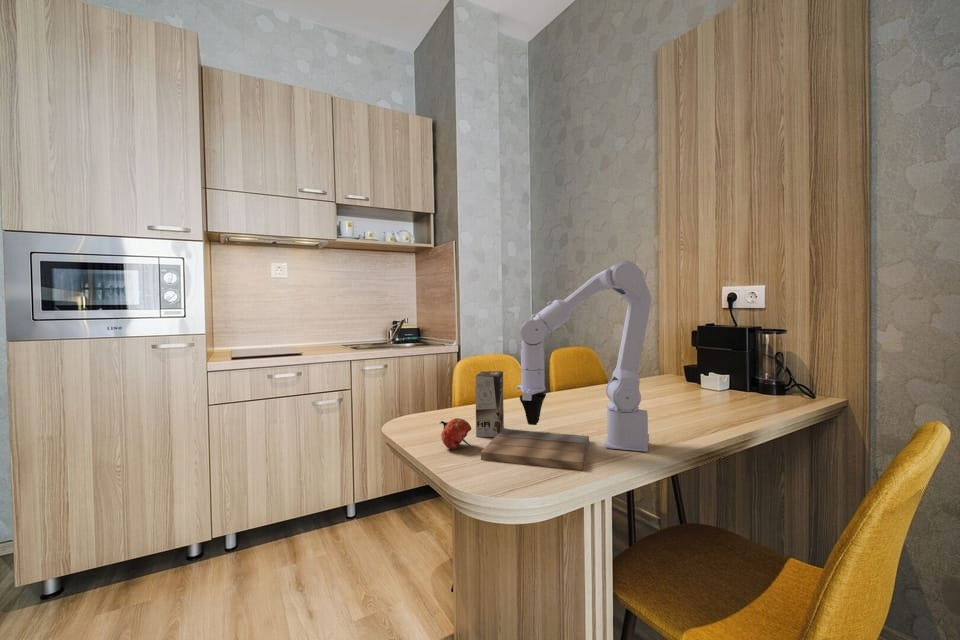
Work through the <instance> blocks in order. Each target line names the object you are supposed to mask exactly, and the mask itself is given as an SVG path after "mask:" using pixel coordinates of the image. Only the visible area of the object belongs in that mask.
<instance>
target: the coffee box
mask: <svg viewBox="0 0 960 640" xmlns="http://www.w3.org/2000/svg"><path fill="white" fill-rule="evenodd" d="M474 378H475V436H476V437H480V438H482V437H483V438H493V439H494V438H495V437H496V436H497V435H498V434H499V433H500V432H501V431H502V430H504V429H505V426H504V422H505V421H504V418H505V417H504V415H505V413H504V371H503V370H502V371H501V370H500V371H499V370H493V371H492V370H491V371H484V370H483V371H480V372H479V373H478V374H476V375H475V377H474Z"/></svg>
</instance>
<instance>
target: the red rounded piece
mask: <svg viewBox="0 0 960 640" xmlns="http://www.w3.org/2000/svg"><path fill="white" fill-rule="evenodd" d="M439 424H440V425H441V424H442V425H443V430H442V431H441V434H440V438H441V442H442V443H443V445H444V446H445V447H446V448H447V449H450V450H453V451H455V450H457V449H458V447H460V445H461V443H462V442H463V443H465V444H466V445H468V446H469V447H470V448H471V449H474V447H473V446H472V445H471V444H470V443H468V442H467V441H466V439H465V438H466V437H467V435H468V433H469V432H470V431H472V427H471V426H472V425H470V423H469V422H468V420H467V421H466V420H465V419H463V418H459V417H457V418H456V417H455V418H453V419H451V420H450V421H448V422H446V421H443V420H441V421H440V422H439Z"/></svg>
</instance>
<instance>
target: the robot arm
mask: <svg viewBox="0 0 960 640" xmlns="http://www.w3.org/2000/svg"><path fill="white" fill-rule="evenodd" d="M639 267H640V266H638V265H637V264H636V263H634V262H633V261H631V260H622V261H620V262H619V261H618V262H617V263H616V264H612V265H611V266H609V267H608V268H607V269H603V271H601V272H598V273H597V274H595V275H593V276H592V277H591V278H590V279H588V280H587V281H586V282H584V283H583V284H582V285H581V286H580V287H578V288H576V290H575V291H574V292H572V293H571V294H569V295H568V296H567V297H566V298H565V299H563V300H561V299H555V300H553V301H552V300H550V301H548V302H547V303H546V305H547V306H545V307H544V308H543V309H541V310H540V311H539V312H537V313H536V314H535V313H533V314H532V315H531V318H532V319H530V320H527V321H525V322H524V323H522V325H521V327H520V332H519V333H520V336H521V338H522V340H521V343H520V346H521V350H520V374H521V375H520V378H521V380H520V381H521V382H520V384H517V385H516V390H520V391H521V393H522V395H520V396H519V401H520V402H521V403H520V404H522V407H523V410H524V413H525V417H526V421H527V424H528V425H530V426H537V425H538V423H539V420H540V418H541V417H540V416H541V411H542V408H543V407H542V405H543V403H544V401H545V398H546V395H547V393H546V392H544V391H546V386H545V384H546V383H545V380H546V379H545V350H544V340H545V338H546V334H551V333H552V332H554V331H555V330H556V329H558V328H559V327H560V326H562V325H563V324H564V323H566V322H567V321H568V320H570V319H571V315H572V311H573V310H574V309H576V308H577V307H578V306H580V305H581V304H583V303H584V302H585V301H586V300H588V299H590V298H591V297H593V296H594V295H595V294H596V293H598V292H600V291H605V290H610V289H611V290H613V291H615V292H616V293H619V295H620V296H621V297H622V298H623V300H624V301H625V302H626V303H627V307H626V314H625V318H624V324H623V329H622V334H621V339H620V346H619V350H618V351H619V352H618V357H617V361H616V367H615V369H614V370H613V371H612V375H611V376H612V377H611V379H610V380H609V381H608V383H607V384H606V387H605V392H606V396H607V397H608V399H609V402H608V404H607V407H606V409H607V410H606V417H607V421H606V422H607V423H606V424H607V427H606V428H607V429H606V431H607V435H606V438H605V443H604V444H605V445H604V448H606V449H614V450H624V451H626V450H627V451H636V452H645V453H647V452H648V451H649V442H650V433H649V421H648V420H649V418H648V416H649V415H648V410H647V409H640V407H639V406H640V403H641V401H642V395H641V390H640V384H641V382H640V375H639V370H640V369H639V368H640V363H641V359H642V358H641V357H642V354H643V353H642V352H643V347H644V342H645V336H646V331H647V325H648V320H649V314H650V311H651V310H650V309H651V306H652V295H651V292H650V290H649V287H648V285H647V284H648V283H646V279H645V272H644V271H643V270H642V269H641V268H639Z"/></svg>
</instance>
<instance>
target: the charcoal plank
mask: <svg viewBox="0 0 960 640" xmlns="http://www.w3.org/2000/svg"><path fill="white" fill-rule="evenodd" d="M497 436H501V437H512V438H524V439H535V440H546V441H557V442H569V443H580V444H587V449H588V448H589V447H588V446H589V443H590V436H589V435H578V434H570V433H569V434H567V433H555V432H545V431H531V430H521V429H520V430H519V429H506V428H503V430H502V431H501V432H500V433H499V434H498V435H497Z"/></svg>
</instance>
